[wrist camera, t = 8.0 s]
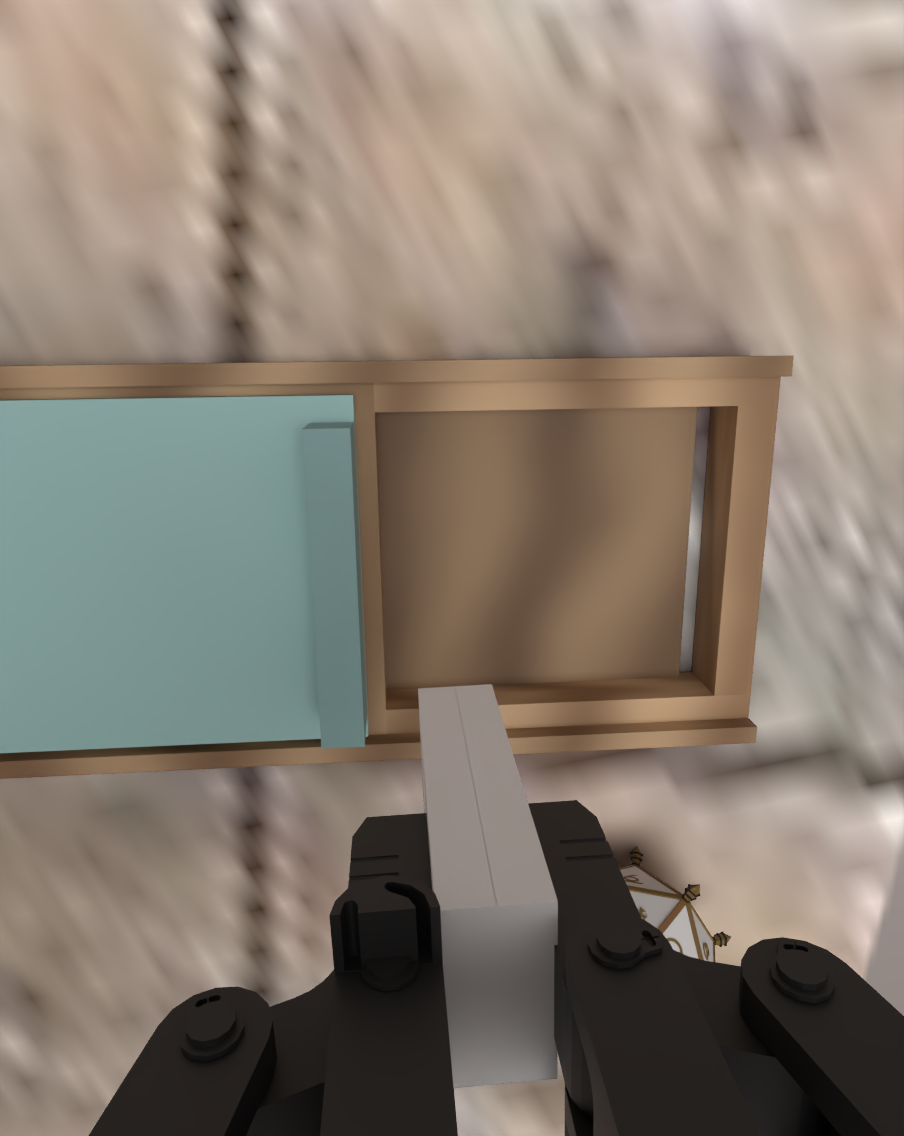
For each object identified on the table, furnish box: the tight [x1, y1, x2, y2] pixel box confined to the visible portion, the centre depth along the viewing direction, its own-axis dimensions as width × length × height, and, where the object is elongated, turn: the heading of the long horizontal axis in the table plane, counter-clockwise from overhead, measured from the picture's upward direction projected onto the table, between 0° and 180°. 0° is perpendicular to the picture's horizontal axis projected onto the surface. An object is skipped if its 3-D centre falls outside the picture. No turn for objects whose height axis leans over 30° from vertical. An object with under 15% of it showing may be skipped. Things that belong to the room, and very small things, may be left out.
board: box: [0, 356, 793, 779], centre depth 30 cm, size 30×15×3 cm, turn 91°
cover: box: [0, 394, 369, 753], centre depth 27 cm, size 14×13×3 cm
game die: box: [619, 847, 731, 962], centre depth 33 cm, size 9×8×10 cm
